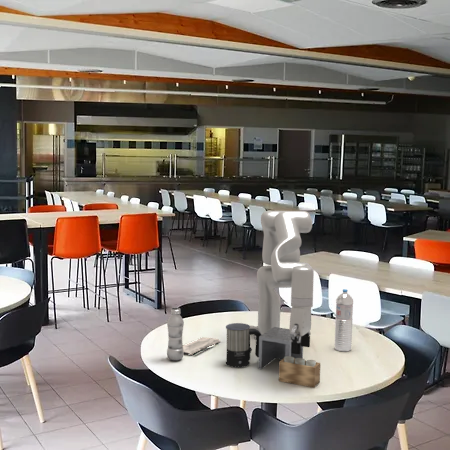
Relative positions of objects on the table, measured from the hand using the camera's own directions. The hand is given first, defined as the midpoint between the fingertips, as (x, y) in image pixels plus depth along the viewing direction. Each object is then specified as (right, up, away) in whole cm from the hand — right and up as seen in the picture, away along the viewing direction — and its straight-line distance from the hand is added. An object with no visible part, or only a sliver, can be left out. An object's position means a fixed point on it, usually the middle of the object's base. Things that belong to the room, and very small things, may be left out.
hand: (300, 350), depth 220 cm
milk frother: (-21, -9, +23) cm, 32 cm away
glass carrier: (0, -11, +2) cm, 12 cm away
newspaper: (-37, -7, +39) cm, 55 cm away
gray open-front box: (-5, -9, +19) cm, 21 cm away
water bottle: (+22, -8, +40) cm, 46 cm away
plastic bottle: (-45, -8, +23) cm, 52 cm away
